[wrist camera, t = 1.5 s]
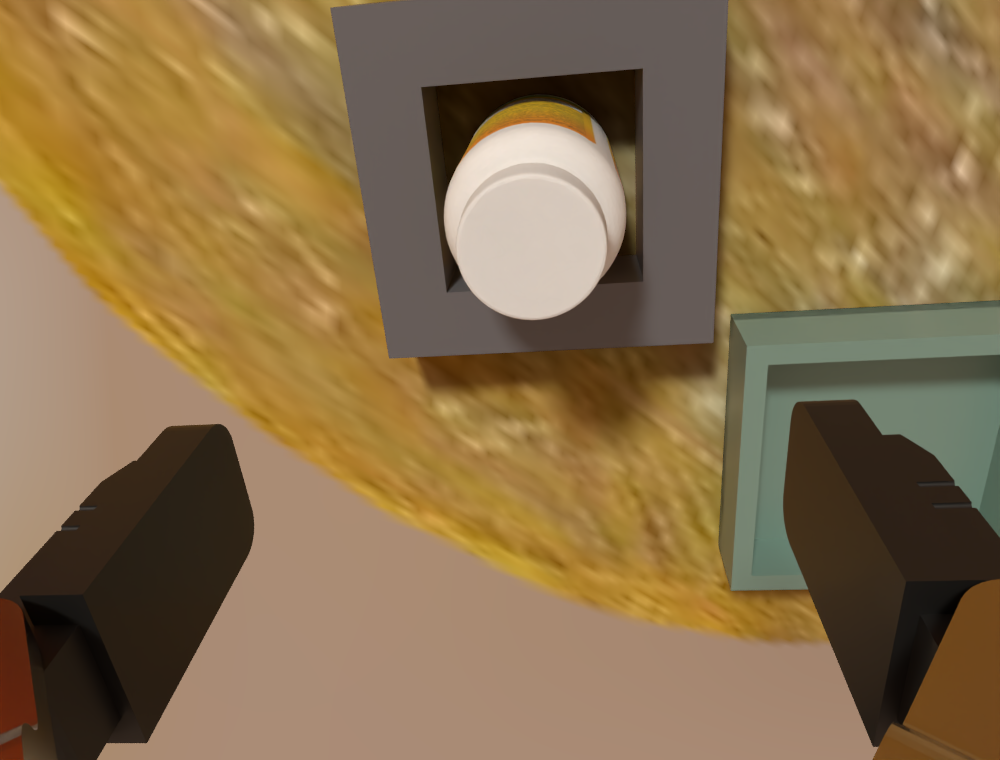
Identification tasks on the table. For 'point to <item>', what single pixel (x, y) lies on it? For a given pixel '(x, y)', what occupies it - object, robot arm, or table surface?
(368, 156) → the socket block
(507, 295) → the supplement bottle
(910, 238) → the table surface
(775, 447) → the tray
